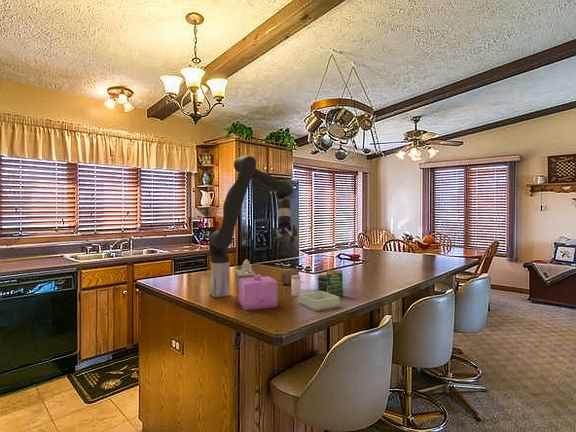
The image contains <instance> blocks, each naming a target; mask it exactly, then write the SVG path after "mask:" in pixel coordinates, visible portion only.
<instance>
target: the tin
mask: <svg viewBox="0 0 576 432" xmlns="http://www.w3.org/2000/svg"><path fill="white" fill-rule="evenodd" d="M292 275H299V270H298V269H297V268H289V269H284V270H282V271H281V273H280V281H281V284H283V285H291V276H292Z"/></svg>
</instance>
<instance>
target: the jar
mask: <svg viewBox="0 0 576 432" xmlns="http://www.w3.org/2000/svg"><path fill="white" fill-rule="evenodd" d="M317 287H318V292H319V291H324V292H326V293H327V274H326V275H325V274H324V275H323V274H322V275H319V276H318V277H317Z"/></svg>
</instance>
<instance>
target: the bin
mask: <svg viewBox="0 0 576 432" xmlns="http://www.w3.org/2000/svg"><path fill="white" fill-rule="evenodd" d="M297 298H298V299H297V301H298V305H300V306H302V307H304V308H306V309H308V310H310V311H313V312H318V311H320V312H321V311H323V310H324V311H325V310H330V309H335V308H339V307H341V306H340V304H341V303H340V302H341V301H340V299H341V296H340V297H339V296H335V295H332V294H329V293H327V292H324V291H319V290H318V291H314V292H313V291H311V292H306V293H300V294H298V296H297Z"/></svg>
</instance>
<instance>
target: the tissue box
mask: <svg viewBox="0 0 576 432" xmlns="http://www.w3.org/2000/svg"><path fill="white" fill-rule="evenodd" d="M251 268H252V265H251V264H250V261H249V260H248V258H246V259H245V260H243V262H242V265H241V269H234V284H235V285H236V287H237V289H238V290H239V278H253V277H254V275H257V274H256V273H255V272H254V271H253V270H252V269H251Z"/></svg>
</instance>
